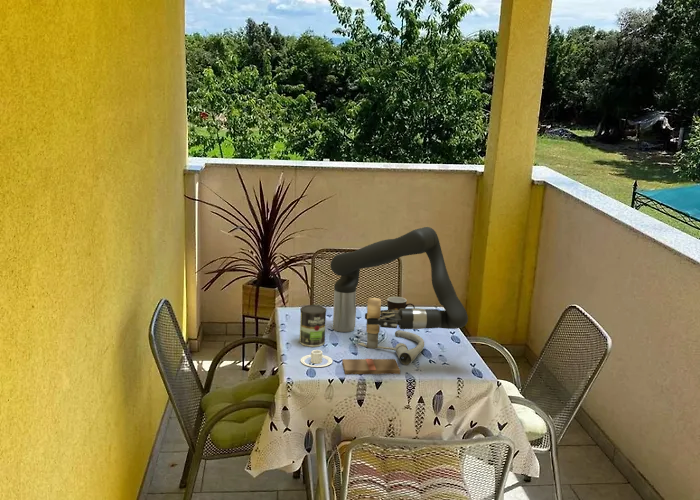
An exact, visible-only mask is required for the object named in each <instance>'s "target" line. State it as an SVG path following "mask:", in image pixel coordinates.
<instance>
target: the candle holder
mask: <svg viewBox="0 0 700 500" xmlns="http://www.w3.org/2000/svg"><path fill="white" fill-rule="evenodd" d="M309 358H310V362H311V363H312V364H308V363H306V362H305V361H306V360H307V359H309ZM323 359H325V360H327V362H326V363H324V364H322V363H323ZM300 362H301V364H303V365H304V366H307V367H312V368H322V367H328V366H329V365H331V364H332V363H333V358H332V357H330V356H328V355H324V354H323V351H322V350H321V349H313V350H311V353H310V354H307V355H304V356H302V357H300ZM313 364H314V365H313ZM315 364H316V365H315ZM321 364H322V365H321Z"/></svg>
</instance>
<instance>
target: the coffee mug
mask: <svg viewBox="0 0 700 500" xmlns="http://www.w3.org/2000/svg"><path fill="white" fill-rule="evenodd" d="M386 301H387V310H391V312H394V313H398V312H399V309H401V308H407V307H408V306H412V308H416V306H415V305H414V303H407V302H408V301H407V299H406V298H405V297H402V296H390V297H388V298H387V299H386Z"/></svg>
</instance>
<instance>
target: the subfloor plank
mask: <svg viewBox="0 0 700 500" xmlns="http://www.w3.org/2000/svg"><path fill="white" fill-rule="evenodd" d="M342 367H343V371H344V375H401V369H400V367H399V364H398V362H397V360H396V358H382V359H381V358H378V359H377V358H363V359H362V358H360V359H359V358H355V359H354V358H351V359H350V358H349V359H348V358H347V359H345V358H343V359H342Z"/></svg>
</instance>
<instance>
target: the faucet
mask: <svg viewBox="0 0 700 500" xmlns="http://www.w3.org/2000/svg"><path fill="white" fill-rule="evenodd" d="M394 335H395V337H396V338H399V337H400V338H403V339H409V340H411V341H414V342H416V343H417V345H415V346H414V347H413V348H410V349H409V348H408V346H407V345H406V344H405V343H402V342H400V343H397V344H396V345H395V346H394V347H391V346H389V347H388V346H382V345H381V346H379V345H378V348H377V349H379V350H381V349H382V350H390V351H394V352H395V354H396V355H397V357H398V359H399V361H400V363H401V364H403V365H404V366H410V364H412V362H414V360H416V358H417V356H418V355H419V354H421V352H422V351H423V350H424V348H425V340H424V339H423V337H421V336H420V335H418V334H416V333H413V332H409V331H406V330H402V329H397V330H396V331H395V332H394ZM357 345H359V346H361V347H364V348H367V344H365V342H358V343H357Z"/></svg>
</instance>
